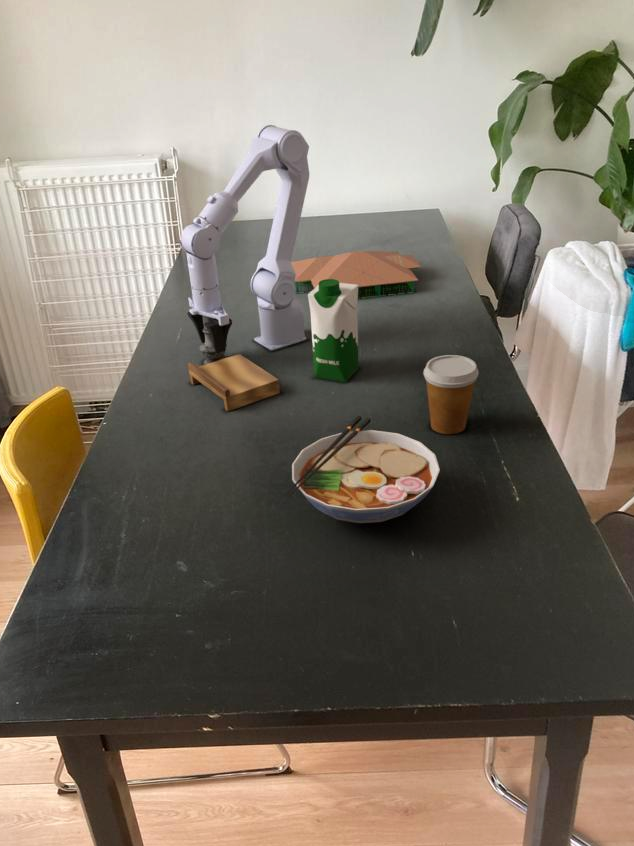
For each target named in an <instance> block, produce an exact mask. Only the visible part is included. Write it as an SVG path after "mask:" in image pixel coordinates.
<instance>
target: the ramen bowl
mask: <svg viewBox="0 0 634 846" xmlns="http://www.w3.org/2000/svg"><path fill="white" fill-rule="evenodd" d="M361 421H362V416H361V415H357V416H356V417H355V418H353V420H352V422H350V424H349V425H348V426H347V427H346V428H345V429H344V430H343V431H342V432H340V433H336V434H332V435H329V436H326V437H322V438H320V439H318V440H316V441H314V442H313V443H311V444H309V445H308V446H306V447H304V448H303V449H301V451H300V452H299V453H298V454H297V457H296V458H295V459H294V461H293V462H292V464H291V480H292V482H293V483H294V484H293V486H292V487H291V488H290V489H289V490H288V491H287V492H286V493H285V494H284V496H285V497H286V496H287V498H289V497H291V496H292V495H293V493H295V492H296V491H297V490H299V492H301V494H302V495H303V496H304V497H305V498H306V500H307V501H308V502H309V503H310V504H311V505H312V506H313V507H314V508H315V509H317V510H318V511H320V512H322V513H323V514H326V515H327V516H330V517H331V518H333V519H335V520H337V521H342V522H348V523H349V522H350V523H354V524H355V523H356V524H371V523H372V524H373V523H383V522H385V521H390V520H391V519H395V518H398V517H401V516H403V515H404V514H405V513H407V512H409V511H410V510H411V509H412V508H414V507H416V506H417V504H420V502H422V501H423V500H424V499H425V498H426V497H427V496H428V495H429V493H430V492H431V490H432V489H433V488H434V485H435V483H436V481H437V478H438V476H439V473H440V472H441V470H440V466H439V462H438V459H437V456H436V454H435V453H434V452H433V451H431V449H430V448H428V447H427V446H425V444H423V443H422V442H421V441H419V440H416V439H413V438H411V437H408V436H407V435H403V434H401V433H397V432H390V431H382V430H374V429H366V430H363V429H365V428H366V427H367V426H368V425H369V424H370V423H371V421H372V419H371V418H370V417H366V418H365V419H364V420H363V422H361ZM359 422H361V423H360V424H359ZM357 424H359V426H357ZM356 426H357V427H356ZM355 427H356V428H355ZM353 428H355V430H353Z"/></svg>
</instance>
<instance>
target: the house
mask: <svg viewBox="0 0 634 846" xmlns="http://www.w3.org/2000/svg"><path fill="white" fill-rule="evenodd" d="M291 264H292V266H293V269H294V271H295V273H296V277H295V288H296V294H302V293H303V291H302V289H301V287H302V288H303V290H304V289H305V287H304V286H306V287H308V286H309V285H312V288H313V290H314V289H315V288H316V287H317V286H318V285H319V282H320V281H322V280H325V279H335V280H338V281H339V283H347V284H357V285H358V288H364V287H365V288H366V287H368V288H369V289H365V292H368V291H369V292H368V293H369V295H367V293H365V296H362V299H365V298H375V297H376V295H372V296H371V295H370V294H371V293H370V291H371V288H370V287H373V288H374V291H376V293H377V295H378V296H380V297H383V296H385V293H384V291H385V290H390V287H386V288H385V285H394V284H399V285H398V293H399V295H401V294H404V291H403V290H404V287H405V288H408V286H409V289H410V290H411V291H408V294H412V293H415V282H419V279H418V277H416V275H415V274H414V272H413V270H418V268H419V269H420V268H422V265H421V264H420V262H419V261H418V260H417V259H416V257H415V256H414V255H413V254H400V253H399V251H387V250H385V251H383V250H382V251H381V250H375V251H374V250H359V251H352V252H351V251H350V252H346V253H341V254H336V255H335V254H334V255H327V256H317V257H313V258H307V259H301V260H296V261H291ZM304 282H305V284H304ZM307 282H308V283H307ZM401 283H402V286H400V285H401ZM403 283H406V285H404V284H403ZM298 284H300V286H299V287H300V288H299V289H300V292H298ZM382 285H383V287H382V291H383V294H382V295H381V286H382ZM400 288H402V289H401V290H402V292H400ZM394 289H397V286H395V287H394ZM311 291H312V290H309V291H308V290H307V293H310V292H311ZM358 293H361V290H358ZM391 295H395V293H389V296H391Z"/></svg>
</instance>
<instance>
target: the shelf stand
mask: <svg viewBox="0 0 634 846" xmlns="http://www.w3.org/2000/svg"><path fill="white" fill-rule="evenodd" d="M187 367H188V374H189V380H190V384H192V385H193V386H195V385H198V384H202V385H203V386H204V387H205V388H207V389H208V390H210V392H213V393H214V394H215V395H216V396H218V397H219V398H220V399H221V400H223V406H224V410H225V411H226V412H230V411H233V410H235V409H238V408H241V407H244V406H247V405H249V404H253V403H256V402H258V401H261V400H265V399H267V398H270V397H273V396H275V395H279V394H281V392H280V391H281V390H280V380H279V379H278V378H277V377H276V376H274V375H273V374H271V373H269V372H268V371H267V370H264V369H263V368H262V367H260V366H259V365H257V364H255V363H254V362H252V361H251V360H249V359H248V358H247V357H245V356H243V355H242V354H240V353H237V354H235V355H231V356H228V357H226V358H225V359H222V360H219V361H215V362H212V363H209V364H206V365H204V364H203V365H199V366H198V365H197V364H196V363H194V362H193V361H191V362H188V363H187Z"/></svg>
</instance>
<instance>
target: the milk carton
mask: <svg viewBox="0 0 634 846" xmlns="http://www.w3.org/2000/svg"><path fill="white" fill-rule="evenodd" d="M310 291H311V292H308V294H307V299H308V304H309V312H310V326H311V342H312V344H311V345H312V359H313V373H314V374H313V375H314V378H315V379H320V380H327V381H333V382H339V383H347V382H348V381H349V379H351V377H352V376H353V375H354V374H355V372H356V371H358V369H359V367H360V366H359V325H358V324H359V321H358V320H359V318H358V302H359V301H358V300H359V292H358V291H359V287H358V285H357V284H347V283H339V281H338V280H335V279H325V280H322V281H320V282H319V285H318V286H317V287H316V288H315V289H314V288H313V289H311V290H310Z"/></svg>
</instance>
